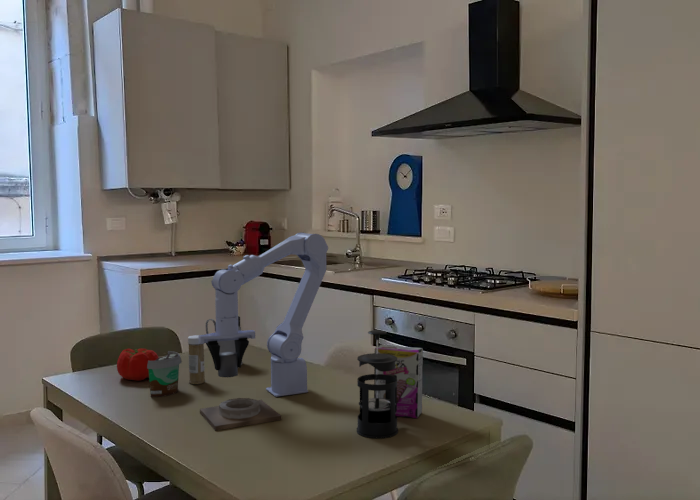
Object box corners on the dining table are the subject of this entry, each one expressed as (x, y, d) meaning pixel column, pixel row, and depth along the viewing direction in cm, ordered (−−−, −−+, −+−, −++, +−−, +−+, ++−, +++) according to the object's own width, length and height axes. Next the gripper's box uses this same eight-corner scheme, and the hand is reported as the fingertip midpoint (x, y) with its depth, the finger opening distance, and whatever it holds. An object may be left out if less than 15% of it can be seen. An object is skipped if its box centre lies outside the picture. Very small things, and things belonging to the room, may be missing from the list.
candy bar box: (373, 414, 160) (373, 348, 159) (379, 408, 165) (379, 343, 164) (418, 419, 157) (418, 351, 155) (422, 413, 161) (423, 347, 160)
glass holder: (229, 368, 204) (228, 321, 203) (196, 362, 212) (195, 316, 210) (248, 362, 211) (247, 316, 210) (216, 357, 219) (215, 312, 218)
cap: (234, 371, 174) (234, 350, 174) (240, 375, 170) (239, 354, 169) (215, 373, 172) (215, 352, 171) (221, 378, 167) (220, 356, 167)
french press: (379, 442, 142) (379, 337, 140) (346, 432, 148) (345, 331, 146) (410, 428, 151) (411, 329, 149) (377, 419, 157) (377, 324, 155)
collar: (261, 403, 169) (261, 392, 169) (281, 419, 157) (281, 407, 156) (199, 412, 162) (199, 400, 162) (215, 430, 149) (215, 417, 149)
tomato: (170, 376, 196) (169, 347, 195) (136, 386, 185) (135, 356, 185) (141, 370, 202) (140, 343, 202) (107, 379, 192) (106, 351, 191)
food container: (169, 399, 173) (168, 362, 172) (147, 398, 174) (146, 361, 173) (189, 386, 185) (189, 351, 184) (169, 385, 186) (168, 350, 185)
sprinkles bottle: (208, 382, 189) (207, 336, 188) (194, 385, 185) (193, 338, 184) (199, 379, 192) (198, 334, 191) (185, 382, 189) (184, 336, 188)
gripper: (249, 311, 176) (249, 361, 177) (195, 316, 170) (196, 367, 171) (257, 315, 170) (258, 367, 171) (202, 320, 164) (203, 374, 165)
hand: (227, 368), depth 171 cm, fingers closed on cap, 5 cm apart
